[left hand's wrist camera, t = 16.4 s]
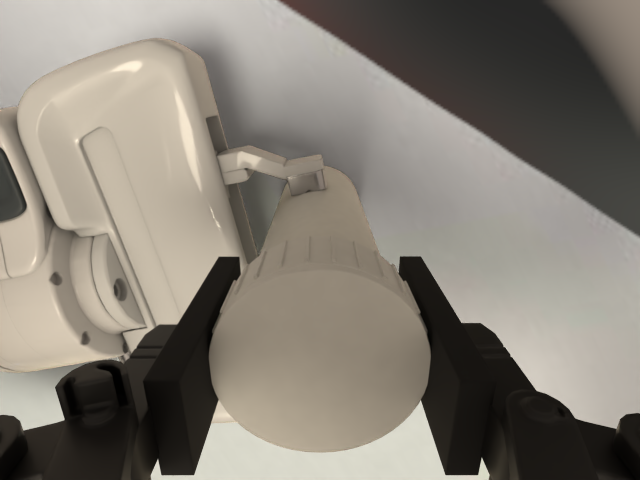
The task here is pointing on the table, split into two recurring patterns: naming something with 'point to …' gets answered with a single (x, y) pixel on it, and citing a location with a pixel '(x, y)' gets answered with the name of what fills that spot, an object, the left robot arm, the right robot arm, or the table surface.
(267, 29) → the table surface
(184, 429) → the left robot arm
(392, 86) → the table surface
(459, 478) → the table surface
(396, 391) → the lid
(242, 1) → the table surface
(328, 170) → the jar
